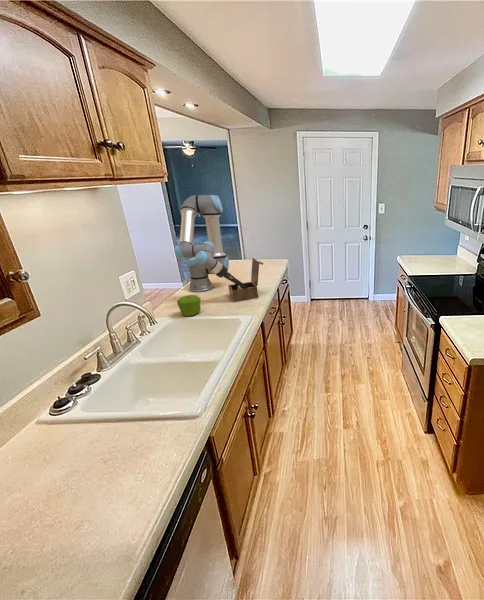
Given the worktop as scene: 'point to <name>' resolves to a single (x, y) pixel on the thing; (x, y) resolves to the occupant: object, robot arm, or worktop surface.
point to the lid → (255, 271)
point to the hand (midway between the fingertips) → (246, 288)
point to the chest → (243, 292)
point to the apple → (189, 305)
